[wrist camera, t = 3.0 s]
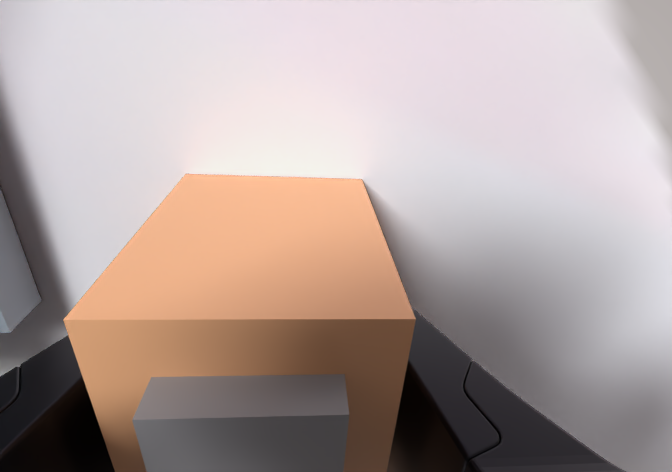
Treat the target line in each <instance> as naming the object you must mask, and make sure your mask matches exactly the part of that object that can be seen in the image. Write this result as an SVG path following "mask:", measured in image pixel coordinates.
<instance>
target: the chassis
mask: <svg viewBox="0 0 672 472" xmlns="http://www.w3.org/2000/svg"><path fill="white" fill-rule="evenodd" d="M41 301H42V300H41V298H40V295H39V292H38V289H37V287H36V284H35V281H34V278H33V276H32V273H31V270H30V268H29V265H28V262H27V259H26V257H25V254H24V251H23V248H22V246H21V243H20V240H19V237H18V235H17V232H16V229H15V227H14V224H13V221H12V218H11V216H10V213H9V210H8V207H7V205H6V202H5V199H4V196H3V194H2V191H1V188H0V333H11V332H12V330H13V329H14V328H15V327H16V326H17V325H18V324H19V323H20V322H21V321H22V320H23V319H24V318H25V317H26V316H27V315H28V314H29V313H30V312H31V311H32V310H33V309H34V308H35V307H36V306H37V305H38V304H39V303H40V302H41Z"/></svg>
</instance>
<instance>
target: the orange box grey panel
mask: <svg viewBox="0 0 672 472" xmlns="http://www.w3.org/2000/svg"><path fill="white" fill-rule="evenodd" d="M63 321H64V324H65V327H66V330H67V333H68V336H69V339H70V341H71V344H72V347H73V350H74V353H75V356H76V359H77V362H78V365H79V368H80V371H81V374H82V377H83V379H84V382H85V385H86V388H87V391H88V394H89V397H90V400H91V403H92V406H93V409H94V412H95V415H96V418H97V420H98V423H99V426H100V429H101V432H102V435H103V438H104V441H105V444H106V447H107V450H108V453H109V456H110V458H111V461H112V464H113V467H114V470H115V472H387V467H388V462H389V457H390V452H391V447H392V441H393V436H394V431H395V426H396V420H397V415H398V410H399V405H400V399H401V394H402V389H403V384H404V378H405V373H406V368H407V363H408V358H409V352H410V347H411V342H412V337H413V331H414V326H415V321H416V318H415V316H414V313H413V310H412V308H411V305H410V303H409V300H408V297H407V295H406V292H405V290H404V287H403V284H402V282H401V279H400V277H399V274H398V271H397V269H396V266H395V264H394V261H393V258H392V256H391V253H390V251H389V248H388V245H387V243H386V240H385V238H384V235H383V233H382V230H381V227H380V225H379V222H378V220H377V217H376V214H375V212H374V209H373V207H372V204H371V201H370V199H369V196H368V194H367V191H366V188H365V186H364V183H363V181H362V179H336V178H302V177H269V176H235V175H201V174H185V175H184V177H183V178H182V179H181V180H180V181H179V183H178V184H177V185H176V186H175V187H174V188H173V190H172V191H171V192H170V193H169V194H168V196H167V197H166V198H165V199H164V200H163V202H162V203H161V204H160V205H159V206H158V207H157V209H156V210H155V211H154V212H153V213H152V215H151V216H150V217H149V218H148V219H147V221H146V222H145V223H144V224H143V225H142V227H141V228H140V229H139V230H138V231H137V232H136V234H135V235H134V236H133V237H132V238H131V240H130V241H129V242H128V243H127V244H126V246H125V247H124V248H123V249H122V250H121V252H120V253H119V254H118V255H117V256H116V257H115V259H114V260H113V261H112V262H111V263H110V265H109V266H108V267H107V268H106V269H105V271H104V272H103V273H102V274H101V275H100V277H99V278H98V279H97V280H96V281H95V282H94V284H93V285H92V286H91V287H90V288H89V290H88V291H87V292H86V293H85V294H84V296H83V297H82V298H81V299H80V300H79V301H78V303H77V304H76V305H75V306H74V307H73V309H72V310H71V311H70V312H69V313H68V315H67V316H66V317H65V318H64V319H63Z"/></svg>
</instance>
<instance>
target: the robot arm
mask: <svg viewBox="0 0 672 472" xmlns="http://www.w3.org/2000/svg"><path fill="white" fill-rule="evenodd" d="M411 308H412V307H411ZM412 310H413V313H414V316H415V318H416V321H415V326H414V331H413V337H412V342H411V347H410V352H409V358H408V363H407V368H406V373H405V378H404V384H403V389H402V394H401V399H400V405H399V410H398V415H397V420H396V426H395V431H394V436H393V441H392V447H391V452H390V457H389V462H388V467H387V472H626V471H624V470H622V469H620V468H618V467H617V466H615V465H613V464H611V463H610V462H608V461H607V460H605V459H604V458H602V457H601V456H599V455H598V454H596V453H595V452H594V451H592V450H591V449H589V448H588V447H587V446H585V445H584V444H583V443H581V442H580V441H578V440H577V439H576V438H574V437H573V436H571V435H570V434H569V433H567V432H566V431H565V430H563V429H562V428H560V427H559V426H558V425H556V424H555V423H553V422H552V421H551V420H549V419H548V418H547V417H545V416H544V415H542V414H541V413H540V412H538V411H537V410H535V409H534V408H533V407H531V406H530V405H529V404H527V403H526V402H525V401H523V400H522V399H521V398H519V397H518V396H517V395H515V394H514V393H513V392H511V391H510V390H509V389H507V388H506V387H505V386H504V385H503V384H501V383H500V382H499V381H498V380H496V379H495V378H494V377H493V376H492V375H490V374H489V373H488V372H487V371H485V370H484V369H483V368H482V367H481V366H480V365H478V364H477V363H476V362H475V361H472V359H471V358H470V357H469V356H468V355H467V354H465V353H464V352H463V351H462V350H461V349H460V348H458V347H457V346H456V345H455V344H454V343H453V342H451V341H450V340H449V339H448V338H447V337H446V336H444V335H443V334H442V333H441V332H440V331H439V330H437V329H436V328H435V327H434V326H433V325H432V324H430V323H429V322H428V321H427V320H426V319H425V318H423V317H422V316H421V315H420V314H419V313H418V312H416V311H415V310H414V309H413V308H412ZM0 472H115V470H114V467H113V464H112V461H111V458H110V456H109V453H108V450H107V447H106V444H105V441H104V438H103V435H102V432H101V429H100V426H99V423H98V420H97V418H96V415H95V412H94V409H93V406H92V403H91V400H90V397H89V394H88V391H87V388H86V385H85V382H84V379H83V377H82V374H81V371H80V368H79V365H78V362H77V359H76V356H75V353H74V350H73V347H72V344H71V341H70V339H69V336H66V337H65V338H63V339H61V340H60V341H58V342H56V343H55V344H53V345H52V346H50V347H48V348H47V349H45V350H43V351H42V352H40V353H38V354H37V355H35V356H33V357H32V358H30V359H29V360H27V361H25V362H24V363H22V364H21V366H20V367H15V368H14V369H12V370H10V371H9V372H7V373H5V374H4V375H2V376H1V377H0Z"/></svg>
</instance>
